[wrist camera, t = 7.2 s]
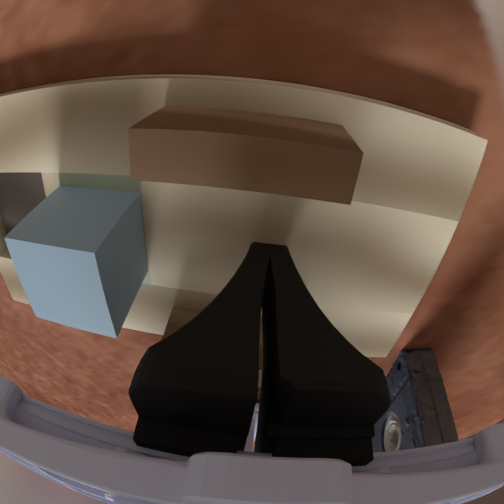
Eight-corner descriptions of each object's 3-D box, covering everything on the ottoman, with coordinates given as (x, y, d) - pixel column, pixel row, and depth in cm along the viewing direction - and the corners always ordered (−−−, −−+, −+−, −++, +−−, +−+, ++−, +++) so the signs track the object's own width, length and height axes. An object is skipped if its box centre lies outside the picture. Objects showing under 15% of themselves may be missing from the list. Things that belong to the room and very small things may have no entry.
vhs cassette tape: (360, 443, 30) (365, 523, 21) (335, 444, 30) (337, 526, 22) (438, 344, 19) (474, 477, 11) (402, 346, 19) (431, 489, 11)
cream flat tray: (381, 338, 18) (394, 401, 15) (23, 285, 18) (-9, 331, 15) (469, 129, 10) (533, 171, 7) (-24, 100, 11) (-85, 130, 7)
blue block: (147, 271, 14) (117, 338, 11) (75, 259, 14) (36, 316, 11) (140, 192, 12) (94, 253, 9) (59, 185, 12) (4, 237, 9)
